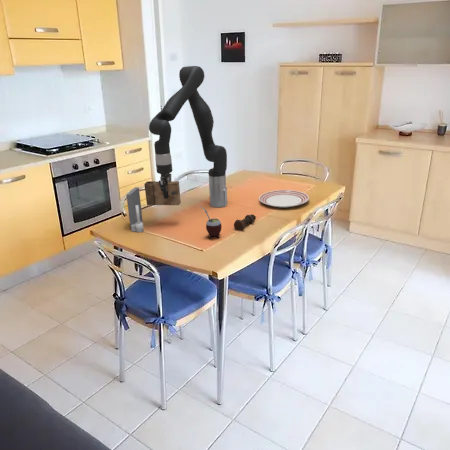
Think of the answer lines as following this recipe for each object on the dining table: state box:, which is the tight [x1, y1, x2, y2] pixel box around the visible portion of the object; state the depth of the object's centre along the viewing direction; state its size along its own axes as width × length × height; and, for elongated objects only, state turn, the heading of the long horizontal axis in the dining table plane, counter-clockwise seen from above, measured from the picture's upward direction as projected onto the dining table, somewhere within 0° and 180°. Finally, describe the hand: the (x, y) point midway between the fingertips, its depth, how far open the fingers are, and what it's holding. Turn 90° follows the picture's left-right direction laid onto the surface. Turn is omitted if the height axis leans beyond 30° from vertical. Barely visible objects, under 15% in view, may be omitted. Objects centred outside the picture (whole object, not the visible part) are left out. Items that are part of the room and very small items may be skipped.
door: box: [144, 180, 182, 206], centre depth 209 cm, size 16×5×11 cm, turn 81°
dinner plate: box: [258, 189, 310, 209], centre depth 239 cm, size 28×27×3 cm
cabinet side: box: [125, 187, 144, 233], centre depth 210 cm, size 7×15×18 cm, turn 171°
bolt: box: [233, 214, 257, 232], centre depth 209 cm, size 6×5×15 cm
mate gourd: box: [199, 206, 222, 240], centre depth 195 cm, size 8×8×15 cm
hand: (167, 196), depth 210 cm, fingers closed on door, 3 cm apart
